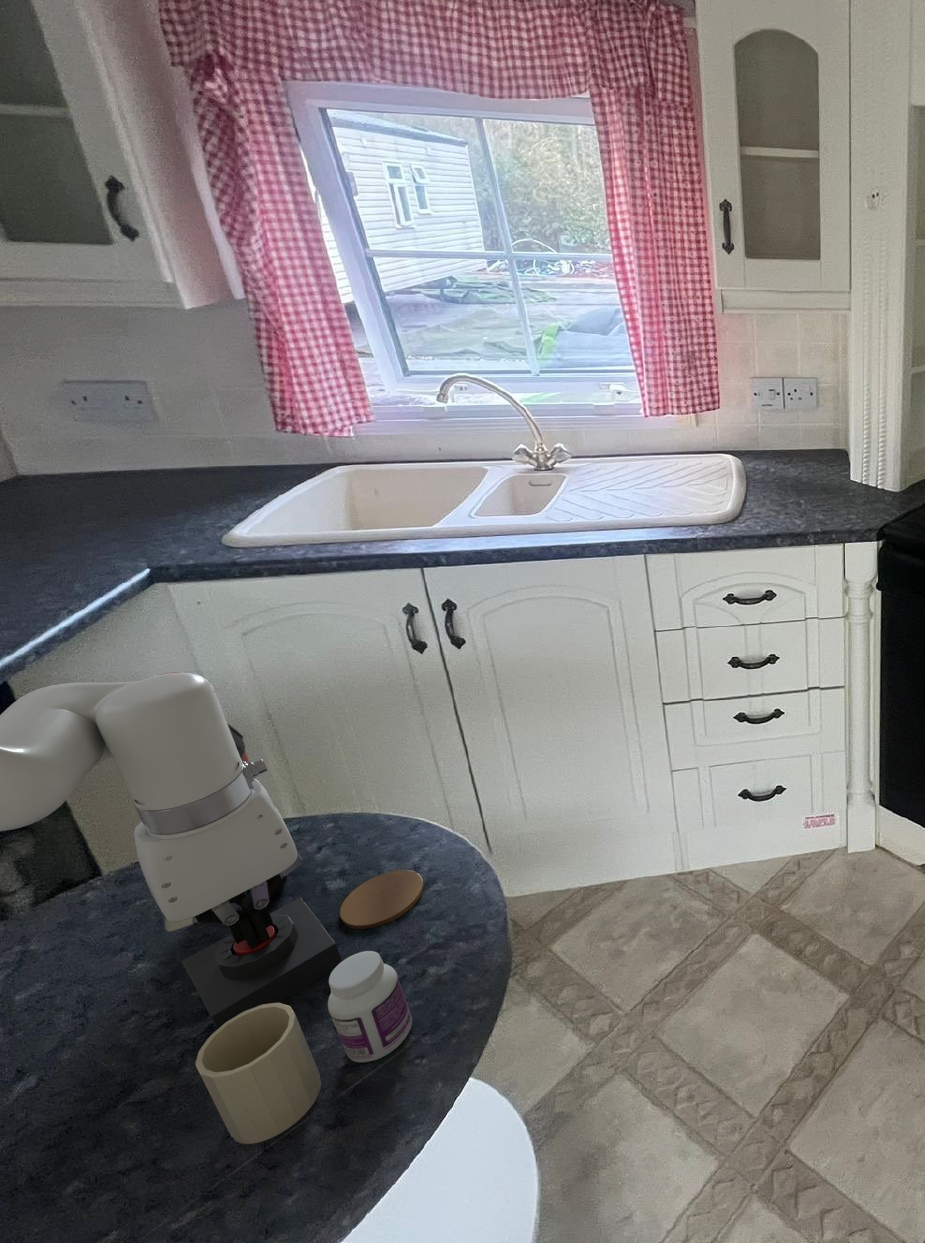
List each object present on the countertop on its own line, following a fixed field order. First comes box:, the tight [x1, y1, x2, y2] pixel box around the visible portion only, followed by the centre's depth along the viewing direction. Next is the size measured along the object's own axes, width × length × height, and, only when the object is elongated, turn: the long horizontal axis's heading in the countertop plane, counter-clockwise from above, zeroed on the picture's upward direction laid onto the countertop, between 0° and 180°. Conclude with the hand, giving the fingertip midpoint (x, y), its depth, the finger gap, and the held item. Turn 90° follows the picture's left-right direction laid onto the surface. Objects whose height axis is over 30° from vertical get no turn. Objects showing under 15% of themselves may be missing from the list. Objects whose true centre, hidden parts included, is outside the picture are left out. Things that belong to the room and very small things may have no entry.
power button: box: [234, 926, 277, 956], centre depth 80 cm, size 3×3×2 cm
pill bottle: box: [327, 950, 413, 1063], centre depth 74 cm, size 5×5×10 cm
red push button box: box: [181, 896, 343, 1030], centre depth 80 cm, size 10×10×5 cm
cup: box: [195, 1002, 322, 1145], centre depth 68 cm, size 6×6×9 cm
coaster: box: [339, 869, 425, 930], centre depth 90 cm, size 8×8×1 cm
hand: (256, 937), depth 79 cm, fingers closed
